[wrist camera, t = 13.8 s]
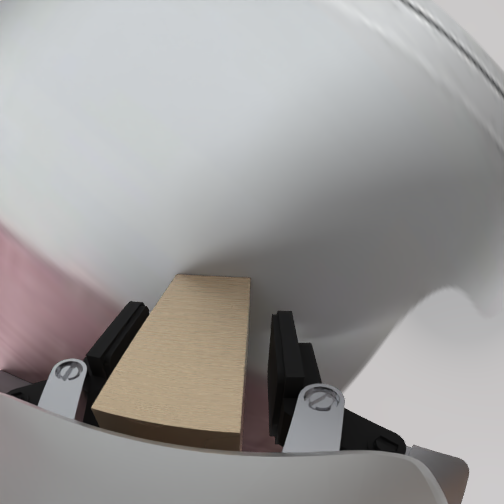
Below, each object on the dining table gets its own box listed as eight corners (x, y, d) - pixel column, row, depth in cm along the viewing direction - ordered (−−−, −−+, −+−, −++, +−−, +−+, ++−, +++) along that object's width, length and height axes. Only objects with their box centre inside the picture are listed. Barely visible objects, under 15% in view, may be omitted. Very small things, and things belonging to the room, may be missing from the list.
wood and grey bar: (176, 274, 12) (91, 407, 5) (250, 278, 12) (239, 432, 5) (209, 504, 20) (200, 569, 12) (242, 506, 20) (238, 572, 12)
